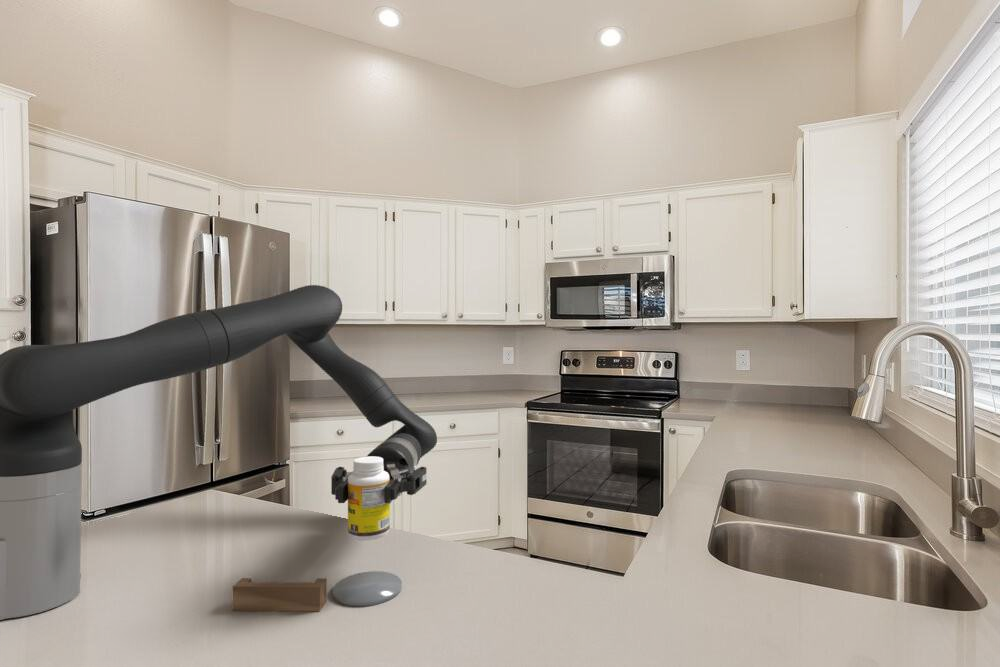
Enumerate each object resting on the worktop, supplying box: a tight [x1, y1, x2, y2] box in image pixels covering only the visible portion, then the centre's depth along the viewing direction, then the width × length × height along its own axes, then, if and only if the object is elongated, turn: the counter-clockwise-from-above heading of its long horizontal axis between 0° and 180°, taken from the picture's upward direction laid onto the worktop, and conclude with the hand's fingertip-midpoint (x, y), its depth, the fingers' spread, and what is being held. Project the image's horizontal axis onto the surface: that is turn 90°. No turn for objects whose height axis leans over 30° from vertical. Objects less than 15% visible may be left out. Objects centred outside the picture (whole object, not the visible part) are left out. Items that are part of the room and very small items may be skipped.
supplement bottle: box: [347, 456, 391, 541], centre depth 72 cm, size 6×6×10 cm
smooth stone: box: [332, 570, 403, 608], centre depth 72 cm, size 9×9×1 cm
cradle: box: [232, 577, 328, 612], centre depth 68 cm, size 2×11×3 cm, turn 89°
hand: (364, 495), depth 70 cm, fingers closed on supplement bottle, 5 cm apart
